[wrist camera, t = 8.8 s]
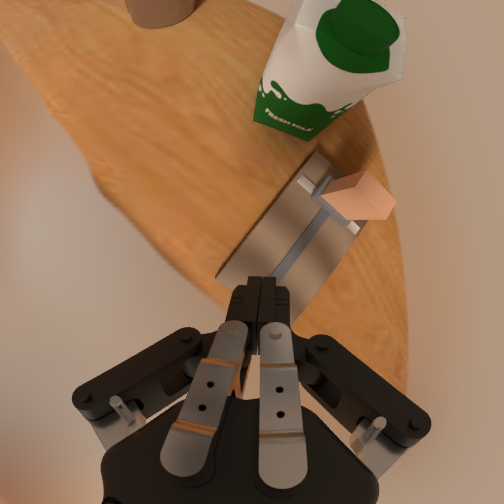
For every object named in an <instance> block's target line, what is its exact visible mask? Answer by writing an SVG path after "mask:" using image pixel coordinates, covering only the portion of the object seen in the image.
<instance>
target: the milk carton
mask: <svg viewBox="0 0 504 504" xmlns="http://www.w3.org/2000/svg"><path fill="white" fill-rule="evenodd" d="M405 42H406V34H405V33H404V17H402V16H401V15H399V14H398V13H396V12H395V11H393V10H391V9H390V8H388V7H386V6H385V5H383V4H381V3H380V2H378V1H376V0H296V1H295V2H294V4H293V5H292V7H291V9H290V11H289V13H288V15H287V17H286V21H285V23H284V25H283V26H282V28H281V31H280V33H279V35H278V38H277V40H276V42H275V45H274V47H273V50H272V52H271V54H270V57H269V59H268V62H267V64H266V67H265V69H264V72H263V75H262V78H261V81H260V84H259V87H258V92H257V99H256V105H255V112H254V118H253V121H255V122H258V123H261V124H264V125H267V126H269V127H272V128H275V129H278V130H280V131H283V132H286V133H288V134H291V135H293V136H296V137H298V138H301V139H303V140H306V141H308V142H309V141H310V140H311V139H312V138H313V137H315V136H316V135H317V134H318V133H319V132H321V131H322V130H323V129H324V128H326V127H327V126H328V125H329V124H330V123H331V122H333V121H334V120H335V119H337V118H338V117H339V116H340V115H342V114H343V113H344V112H346V111H347V110H348V109H349V108H351V107H352V106H353V105H355V104H356V103H357V102H359V101H360V100H361V99H363V98H364V97H365V96H367V95H368V94H369V93H371V92H372V91H374V90H375V89H377V88H379V87H382V86H385V85H388V84H391V83H393V82H396V81H399V80H401V79H403V72H404V57H405Z"/></svg>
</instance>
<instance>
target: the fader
mask: <svg viewBox="0 0 504 504" xmlns="http://www.w3.org/2000/svg"><path fill="white" fill-rule="evenodd" d="M310 197H311V198H312V199H313V200H314V201H315V202H316V203H317V204H318V205H320V206H321V207H322V208H323V209H324V210H325V211H326V212H327V213H328V214H329V215H331V216H332V217H333V218H334V219H335V220H336V221H337V222H338V223H339V224H340V225H341V226H344V227H347V226H348V225H349V223H350V222H351V221H352V220H377V219H387V217H388V215H389V214H390V212H391V210H392V209H393V207H394V205H395V203H396V201H395V200H394V198H393V197H392V196H391V195H390V194H389V193H388V192H387V191H386V190H385V188H384V187H383V186H382V185H381V184H380V183H379V182H378V181H377V180H376V179H375V178H374V177H373V176H372V175H371V174H370V172H369V171H368V170H364V171H361V172H358V173H355V174H352V175H349V176H346V177H343V178H340V179H337V180H335V179H334V178H332V177H331V176H330V175H328V176H326V177H325V178H324V179H323V180H322V182H321V183H320V184H319V186H318V187H317V188H316V190H315V191H314V192H313V194H312V195H311V196H310Z"/></svg>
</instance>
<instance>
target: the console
mask: <svg viewBox="0 0 504 504" xmlns="http://www.w3.org/2000/svg"><path fill="white" fill-rule="evenodd" d="M328 175H330V176H331V177H332V178H334V179H335V180H337V179H340V178H343V177H345V176H344V175H343V174H342V173H341V172H340V171H339V170H338V169H337V168H336V167H334V166H333V165H332V164H331V163H330V162H329V161H328V160H327V159H326V158H325V157H324V156H322V155H321V154H320V153H319V152H318V151H317V150H316V151H315V152H313V153H312V154H311V155H310V156H309V158H308V159H307V160H306V161H305V163H304V164H303V165H302V166H301V168H300V169H299V170H298V171H297V173H296V174H295V175H294V176H293V178H292V179H291V180H290V182H289V183H288V184H287V185H286V187H285V188H284V189H283V190H282V192H281V193H280V194H279V195H278V197H277V198H276V199H275V200H274V202H273V203H272V204H271V206H270V207H269V208H268V209H267V211H266V212H265V213H264V214H263V216H262V217H261V218H260V220H259V221H258V222H257V223H256V225H255V226H254V227H253V228H252V230H251V231H250V232H249V234H248V235H247V236H246V237H245V239H244V240H243V241H242V243H241V244H240V245H239V246H238V248H237V249H236V250H235V252H234V253H233V254H232V255H231V257H230V258H229V259H228V261H227V262H226V263H225V265H224V266H223V267H222V268H221V270H220V271H219V272H218V274H217V275H216V276H215V279H216V280H217V281H218V282H220V283H221V284H222V285H224V286H225V287H226V288H228V289H229V290H231V291H232V292H233V290H234V289H235V288H236V287H237V286H238V285H247V280H248V276H262V279H263V276H269V277H276V286H286V287H287V289H288V290H289V292H290V326H291V325H292V324H293V323H294V321H295V320H296V319H297V318H298V316H299V315H300V314H301V312H302V311H303V310H304V309H305V307H306V306H307V305H308V304H309V302H310V301H311V300H312V298H313V297H314V296H315V294H316V293H317V292H318V290H319V289H320V288H321V286H322V285H323V284H324V282H325V281H326V280H327V278H328V277H329V276H330V274H331V273H332V272H333V270H334V269H335V267H336V266H337V265H338V263H339V262H340V261H341V259H342V258H343V256H344V255H345V253H346V252H347V251H348V249H349V248H350V246H351V245H352V243H353V242H354V241H355V239H356V238H357V236H358V235H359V233H360V232H361V230H362V229H363V227H364V226H365V224H366V223H367V221H368V220H352V221H351V222H350V223H349V225H348V226H347V227H344V226H341V225H340V224H339V223H338V222H337V221H336V220H335V219H334V218H333V217H332V216H331V215H329V214H328V213H327V212H326V211H325V210H324V209H323V208H322V207H321V206H320V205H318V204H317V203H316V202H315V201H314V200H313V199H312V198H311V197H310V196H311V195H312V194H313V192H314V191H315V190H316V188H317V187H318V186H319V184H320V183H321V182H322V180H323V179H324V178H325V177H326V176H328Z"/></svg>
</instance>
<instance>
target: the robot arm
mask: <svg viewBox="0 0 504 504" xmlns="http://www.w3.org/2000/svg"><path fill="white" fill-rule="evenodd" d="M125 3H126V7H127V10H128V12H130V13H131V16H132V19H133V21H134V23H136V24H137V25H139V26H141V27H144V28H162V27H167V26H170V25H173V24H176V23H178V22H180V21H182V20H183V19H185V18H186V17H188V16H189V15H190V14H191V13H192V11H193V10H194V8H195V0H125ZM257 346H258V355H260V398H258V399H251V400H243V394H244V390H245V386H246V381H247V377H248V373H249V369H250V362H251V356H252V355H256V354H257ZM298 381H300V382H301V385H302V386H303V387H304V388H305V389H306V390H307V392H309V393H310V395H311V396H313V397H314V398H315V399H316V400H317V401H318V402H319V403H320V404H321V405H322V406H323V407H324V408H325V409H326V410H327V411H328V412H329V413H330V414H331V415H332V416H333V417H334V418H335V419H336V420H337V421H338V422H339V423H340V424H341V425H343V426H344V427H345V428H346V429H347V430H348V431H349V432H350V433H351V434H352V435H351V437H350V446H351V448H352V449H353V450H354V452H355V454H356V455H355V454H354V453H353V452H352V451H351V450H350V449H349V448H348V447H347V446H346V445H345V444H344V443H343V442H341V440H340V439H339V438H338V437H337V436H336V435H335V434H334V433H333V432H332V431H331V430H330V429H329V428H328V427H327V425H326V424H325V423H324V422H323V421H322V420H321V419H320V418H319V417H318V416H317V415H316V414H315V413H313V412H312V411H311V410H309V409H307V408H305V407H303V406H301V402H300V391H299V382H298ZM187 392H188V394H187V396H186V399H184V400H182V401H180V402H178V403H176V404H175V405H173V406H172V407H170V408H169V409H168V410H166V411H165V412H163V413H162V414H160V415H159V416H157V417H156V418H154V419H153V420H152V421H150V422H149V423H147V424H146V419H148V418H149V417H151V416H152V415H154V414H156V413H157V412H159V411H160V410H162V409H163V408H165V407H166V406H168V405H169V404H171V403H172V402H174V401H175V400H177V399H178V398H180V397H181V396H183V395H184V394H186V393H187ZM72 402H73V404H74V406H75V407H76V408H77V409H78V410H79V411H80V413H81V414H82V415H83V417H84V418H85V419H86V420H87V421H88V422H89V423H90V424H91V426H92V427H93V429H94V431H95V433H96V435H97V436H98V438H99V440H100V442H101V443H102V445H103V447H104V448H105V450H106V453H105V454H104V456H103V458H102V461H101V475H102V479H103V486H104V497H103V501H102V504H376V502H377V500H378V496H379V483H378V479H379V478H380V477H381V476H382V475H383V474H384V473H385V472H386V471H387V470H388V469H389V468H390V467H391V466H392V465H393V464H394V463H395V462H396V461H397V460H398V459H399V457H401V456H402V455H403V454H405V453H406V452H407V451H408V450H409V449H411V448H412V447H413V446H414V445H415V444H417V443H418V442H419V441H420V440H421V439H422V438H423V437H424V436H426V435H427V434H428V432H429V431H430V428H431V419H430V417H429V415H428V414H427V413H426V412H425V411H424V410H422V409H421V408H420V407H419V406H417V405H416V404H415V403H413V402H412V401H411V400H410V399H408V398H407V397H406V396H405V395H403V394H402V393H401V392H399V391H398V390H397V389H396V388H394V387H393V386H392V385H391V384H389V383H388V382H387V381H386V380H384V379H383V378H382V377H381V376H379V375H378V374H377V373H376V372H374V371H373V370H372V369H371V368H369V367H368V366H367V365H366V364H364V363H363V362H362V361H361V360H359V359H358V358H357V357H356V356H354V355H353V354H352V353H351V352H349V351H348V350H347V349H346V348H345V347H343V346H342V345H341V344H340V343H338V342H337V341H336V340H335V339H333V338H332V337H330V336H328V335H323V334H320V335H315V336H313V337H311V338H310V339H306V338H302V337H299V336H297V335H296V334H295V333H294V332H293V331H292V330H291V327H290V292H289V290H288V289H287V287H286V286H276V277H269V276H263V279H262V276H248V280H247V285H238V286H237V287H236V288H235V289H234V290H233V292H232V296H231V300H230V304H229V308H228V312H227V316H226V320H225V322H224V323H223V324H221V326H220V327H219V328H218V330H217V331H215V332H212V333H207V334H200V332H199V331H198V330H196V329H195V328H191V327H185V328H181V329H179V330H177V331H175V332H174V333H172V334H170V335H169V336H167V337H165V338H163V339H162V340H160V341H158V342H157V343H155V344H153V345H152V346H150V347H149V348H146V349H145V350H143V351H141V352H139V353H138V354H136V355H134V356H132V357H131V358H129V359H127V360H126V361H124V362H122V363H120V364H119V365H117V366H115V367H113V368H112V369H110V370H108V371H106V372H104V373H102V374H101V375H99V376H97V377H95V378H93V379H92V380H90V381H88V382H86V383H84V384H82V385H81V386H79V387H78V388H76V390H75V391H74V392H73V395H72ZM145 424H146V425H145Z"/></svg>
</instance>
